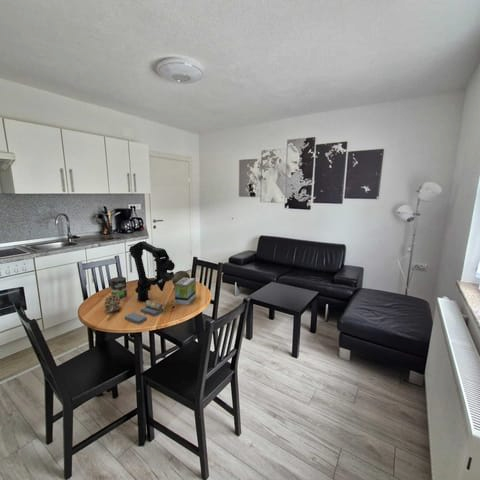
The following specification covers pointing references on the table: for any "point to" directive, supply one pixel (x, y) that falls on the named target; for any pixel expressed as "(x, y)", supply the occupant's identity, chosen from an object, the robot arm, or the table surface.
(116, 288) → the coffee can
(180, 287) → the tea box
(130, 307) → the table surface
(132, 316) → the slate board
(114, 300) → the pine cone
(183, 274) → the cantaloupe
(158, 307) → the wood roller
